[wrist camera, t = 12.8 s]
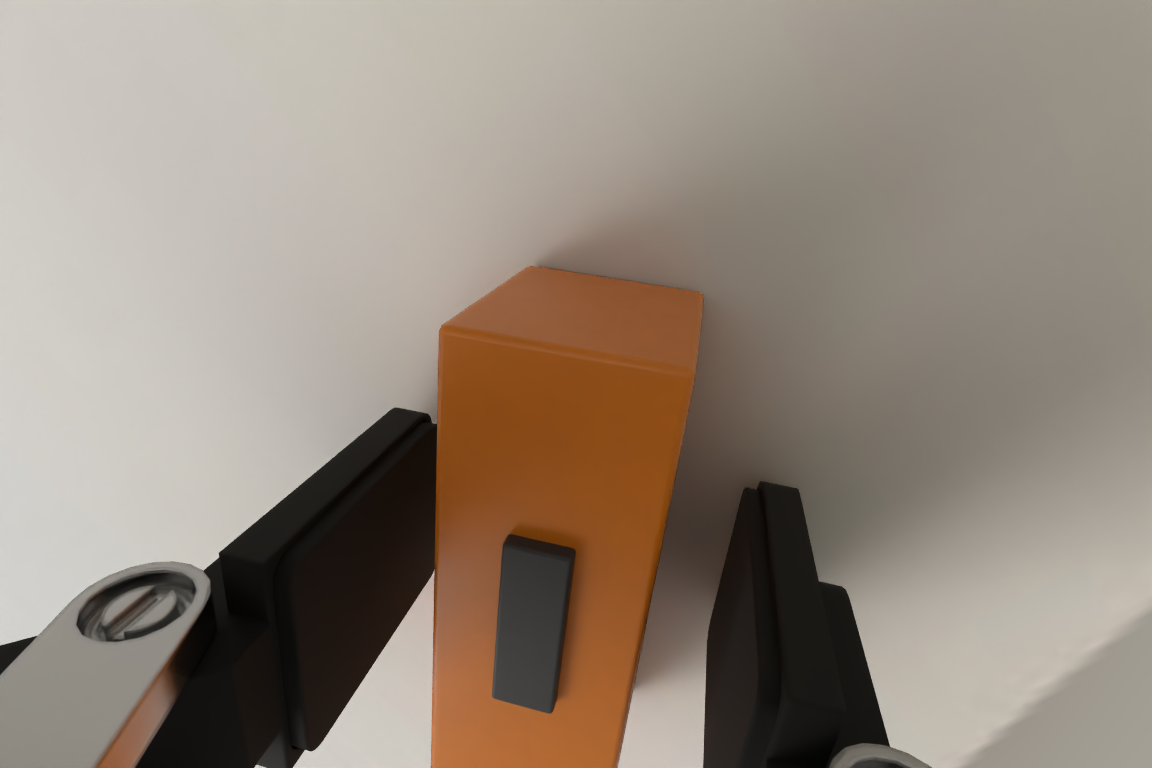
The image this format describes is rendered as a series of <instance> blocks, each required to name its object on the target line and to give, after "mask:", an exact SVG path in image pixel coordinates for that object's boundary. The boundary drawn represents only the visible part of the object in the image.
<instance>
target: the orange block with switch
mask: <svg viewBox="0 0 1152 768" xmlns="http://www.w3.org/2000/svg"><path fill="white" fill-rule="evenodd" d="M703 304H704V298H703V294H701V293H699V292H696V291H690V290H683V289H677V288H670V287H664V286H658V285H651V284H645V283H639V282H632V281H626V280H619V279H613V278H607V277H600V276H594V275H587V274H581V273H575V272H568V271H562V270H556V269H549V268H543V267H536V266H529V267H527V268H525V269H524V270H522V271H521V272H519V273H518V274H516V275H515V276H513V277H512V278H510V279H509V280H507V281H506V282H505V283H503V284H502V285H500V286H499V287H497V288H496V289H494V290H493V291H491V292H490V293H488V294H487V295H485V296H484V297H482V298H481V299H480V300H478V301H477V302H475V303H474V304H472V305H471V306H469V307H468V308H466V309H465V310H463V311H462V312H460V313H459V314H457V315H456V316H455V317H453V318H452V319H450V320H449V321H447V322H446V323H444V324H443V325H442V326H441V328H440V330H439V356H438V411H437V466H436V521H435V577H434V632H433V687H432V742H431V768H618V763H619V758H620V753H621V748H622V743H623V738H624V733H625V728H626V723H627V718H628V713H629V708H630V703H631V698H632V693H633V688H634V683H635V678H636V673H637V668H638V663H639V658H640V653H641V648H642V643H643V638H644V633H645V628H646V623H647V618H648V613H649V608H650V603H651V598H652V592H653V587H654V582H655V577H656V572H657V567H658V562H659V557H660V552H661V547H662V542H663V537H664V532H665V527H666V522H667V517H668V512H669V507H670V502H671V497H672V492H673V487H674V482H675V477H676V472H677V467H678V462H679V457H680V452H681V447H682V442H683V437H684V432H685V427H686V422H687V417H688V412H689V407H690V402H691V397H692V392H693V387H694V382H695V376H696V367H697V358H698V349H699V340H700V331H701V322H702V313H703Z"/></svg>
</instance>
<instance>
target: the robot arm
mask: <svg viewBox="0 0 1152 768" xmlns="http://www.w3.org/2000/svg"><path fill="white" fill-rule="evenodd" d="M436 466H437V424H433V423H432V421H431V417H430V416H429V415H428V414H426V413H421V412H416V411H411V410H406V409H401V408H393V409H391V410H390V411H389V412H388V413H387V414H385V415H384V416H383V417H382V418H381V419H379V420H378V421H377V422H376V423H375V424H373V425H372V426H371V427H370V428H369V429H367V430H366V431H365V432H364V433H363V434H361V435H360V436H359V437H358V438H357V439H355V440H354V441H353V442H352V443H350V444H349V445H348V446H347V447H346V448H344V449H343V450H342V451H341V452H340V453H338V454H337V455H336V456H335V457H334V458H332V459H331V460H330V461H329V462H328V463H326V464H325V465H324V466H323V467H322V468H320V469H319V470H318V471H317V472H316V473H314V474H313V475H312V476H311V477H310V478H308V479H307V480H306V481H305V482H304V483H302V484H301V485H300V486H299V487H298V488H296V489H295V490H294V491H293V492H292V493H290V494H289V495H288V496H287V497H286V498H284V499H283V500H282V501H281V502H280V503H278V504H277V505H276V506H275V507H274V508H272V509H271V510H270V511H269V512H268V513H266V514H265V515H264V516H263V517H262V518H260V519H259V520H258V521H257V522H256V523H254V524H253V525H252V526H251V527H250V528H248V529H247V530H246V531H245V532H243V533H242V534H241V535H240V536H239V537H237V538H236V539H235V540H234V541H233V542H231V543H230V544H229V545H228V546H227V547H225V548H224V549H223V550H222V551H221V552H219V558H218V559H217V560H216V561H214V562H213V563H212V564H211V565H210V566H208V567H207V568H206V569H205V570H204V571H203V570H201V569H199V568H197V567H195V566H193V565H191V564H186V563H179V562H153V563H148V564H143V565H139V566H134V567H130V568H127V569H125V570H122V571H119V572H117V573H114V574H111V575H109V576H107V577H105V578H103V579H102V580H100V581H98V582H96V583H94V584H93V585H91V586H89V587H88V588H86V589H85V590H84V591H83V592H82V593H80V594H79V595H78V596H77V597H76V598H74V599H73V600H72V601H71V602H70V603H69V604H68V605H67V606H66V607H65V608H64V609H63V610H62V611H61V612H60V613H59V614H58V615H57V616H56V618H55V619H54V620H53V621H52V622H51V623H50V624H49V625H48V626H47V627H46V628H45V629H44V630H43V631H42V632H41V633H40V634H39V635H38V636H35V637H31V638H27V639H23V640H20V641H16V642H12V643H9V644H5V645H1V646H0V768H254V767H255V765H256V764H257V765H260V766H263V767H266V768H293V766H294V765H295V763H296V762H297V760H298V759H299V757H300V756H301V755H302V753H303V752H304V750H308V751H313V750H315V749H316V748H317V747H318V746H319V745H320V744H321V742H322V741H323V740H324V738H325V737H326V735H327V734H328V732H329V731H330V729H331V728H332V726H333V725H334V723H335V722H336V720H337V719H338V717H339V715H340V714H341V712H342V711H343V709H344V708H345V706H346V705H347V703H348V702H349V700H350V699H351V697H352V696H353V694H354V693H355V691H356V690H357V688H358V687H359V685H360V684H361V682H362V681H363V679H364V678H365V676H366V674H367V673H368V671H369V670H370V668H371V667H372V665H373V664H374V662H375V661H376V659H377V658H378V656H379V655H380V653H381V652H382V650H383V649H384V647H385V646H386V644H387V643H388V641H389V640H390V638H391V637H392V635H393V633H394V632H395V630H396V629H397V627H398V626H399V624H400V623H401V621H402V620H403V618H404V617H405V615H406V614H407V612H408V611H409V609H410V608H411V606H412V605H413V603H414V602H415V600H416V599H417V597H418V596H419V594H420V592H421V591H422V589H423V588H424V586H425V585H426V583H427V582H428V580H429V579H430V577H431V575H432V574H433V571H434V569H435V521H436ZM703 768H932V767H930V766H929V765H927V764H925V763H923V762H922V761H920V760H918V759H917V758H915V757H913V756H912V755H910V754H908V753H906V752H903V751H900V750H897V749H894V748H891V747H890V745H889V741H888V738H887V734H886V730H885V727H884V723H883V719H882V716H881V712H880V709H879V705H878V701H877V698H876V694H875V690H874V687H873V683H872V679H871V676H870V672H869V668H868V665H867V661H866V657H865V654H864V650H863V646H862V643H861V639H860V636H859V632H858V628H857V625H856V621H855V617H854V614H853V610H852V606H851V603H850V599H849V596H848V594H847V591H846V590H845V589H844V588H843V587H842V586H837V585H833V584H828V583H824V582H819V580H818V575H817V571H816V566H815V562H814V557H813V552H812V548H811V543H810V538H809V534H808V529H807V524H806V520H805V515H804V511H803V506H802V501H801V497H800V492H799V490H798V489H797V488H792V487H788V486H783V485H778V484H773V483H768V482H763V481H760V483H759V484H758V487H757V490H755V489H751V488H746V487H745V489H744V491H743V494H742V497H741V501H740V505H739V509H738V513H737V517H736V521H735V525H734V529H733V533H732V537H731V541H730V545H729V548H728V552H727V556H726V560H725V564H724V568H723V572H722V576H721V580H720V584H719V588H718V592H717V596H716V600H715V604H714V608H713V612H712V616H711V620H710V625H709V631H708V639H707V662H706V695H705V729H704V762H703Z"/></svg>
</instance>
